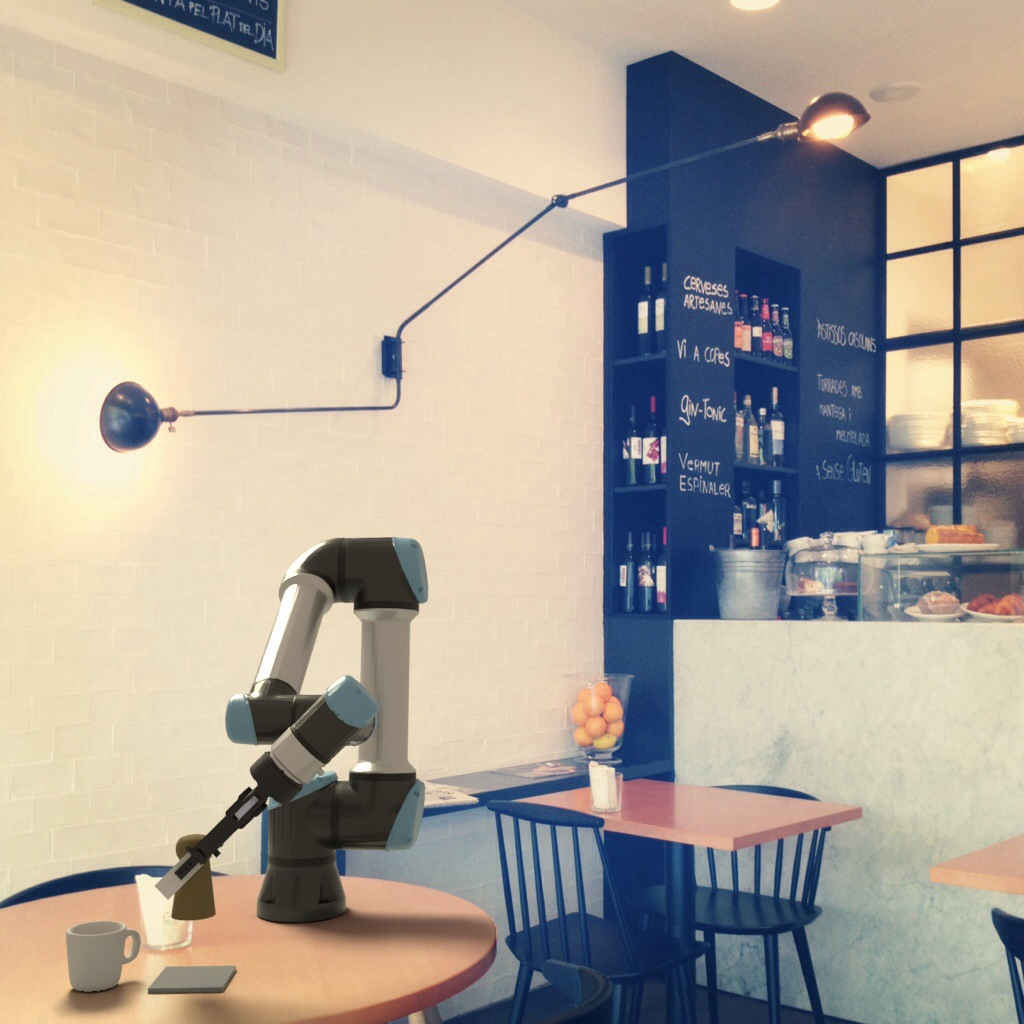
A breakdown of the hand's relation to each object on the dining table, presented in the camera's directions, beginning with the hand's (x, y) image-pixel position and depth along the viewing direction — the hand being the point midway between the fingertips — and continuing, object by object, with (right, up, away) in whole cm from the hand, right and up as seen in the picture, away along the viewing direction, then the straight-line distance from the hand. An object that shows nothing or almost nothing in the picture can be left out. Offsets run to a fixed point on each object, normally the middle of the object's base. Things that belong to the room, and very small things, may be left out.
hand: (167, 887), depth 168 cm
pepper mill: (+4, -4, 0) cm, 6 cm away
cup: (-8, -13, -2) cm, 16 cm away
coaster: (+4, -13, 0) cm, 14 cm away
